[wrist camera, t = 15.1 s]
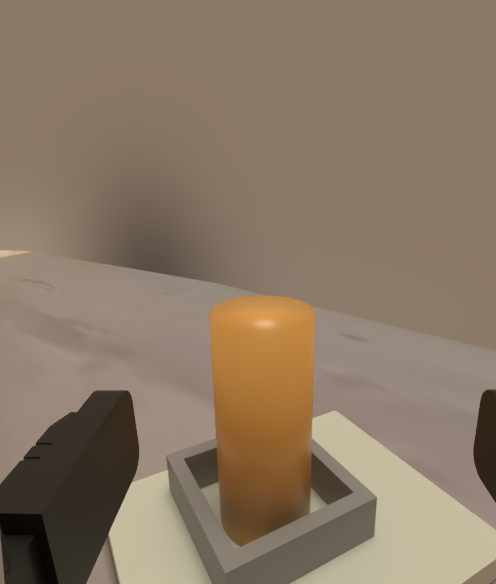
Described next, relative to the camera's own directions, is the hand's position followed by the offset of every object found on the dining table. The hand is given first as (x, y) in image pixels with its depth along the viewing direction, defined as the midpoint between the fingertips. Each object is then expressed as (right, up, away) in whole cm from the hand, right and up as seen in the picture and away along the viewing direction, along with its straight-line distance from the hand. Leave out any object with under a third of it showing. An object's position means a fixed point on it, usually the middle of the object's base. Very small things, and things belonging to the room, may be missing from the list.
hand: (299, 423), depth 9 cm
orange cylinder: (0, -9, +13) cm, 16 cm away
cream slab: (+1, -11, +13) cm, 17 cm away
